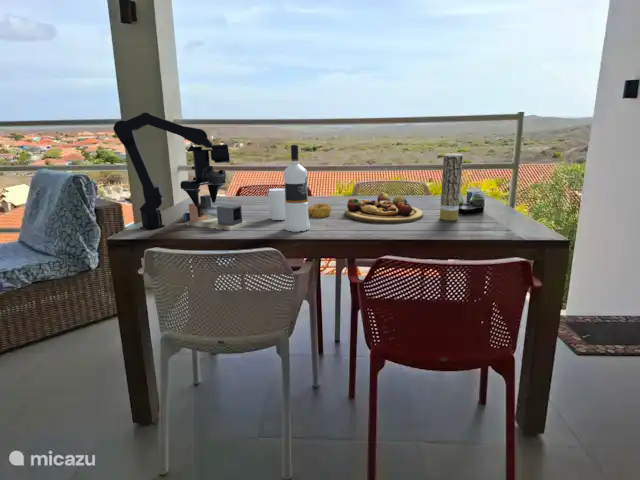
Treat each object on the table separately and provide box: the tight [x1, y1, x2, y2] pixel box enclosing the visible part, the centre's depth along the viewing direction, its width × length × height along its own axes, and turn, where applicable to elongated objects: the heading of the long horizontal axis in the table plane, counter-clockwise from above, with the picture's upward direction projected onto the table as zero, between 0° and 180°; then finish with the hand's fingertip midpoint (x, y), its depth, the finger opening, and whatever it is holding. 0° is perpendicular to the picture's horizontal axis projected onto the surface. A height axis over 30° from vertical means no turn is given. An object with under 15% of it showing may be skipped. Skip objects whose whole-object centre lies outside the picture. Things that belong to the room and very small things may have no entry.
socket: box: [188, 200, 209, 222], centre depth 159 cm, size 4×6×7 cm, turn 154°
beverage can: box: [267, 187, 285, 221], centre depth 163 cm, size 8×8×12 cm
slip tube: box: [197, 194, 218, 218], centre depth 156 cm, size 15×4×8 cm, turn 64°
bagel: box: [308, 202, 332, 219], centre depth 170 cm, size 10×11×5 cm
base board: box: [186, 216, 248, 231], centre depth 157 cm, size 21×10×1 cm, turn 64°
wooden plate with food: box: [344, 191, 424, 225], centre depth 168 cm, size 32×32×8 cm
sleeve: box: [216, 203, 243, 226], centre depth 153 cm, size 7×6×7 cm
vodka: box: [283, 144, 311, 233], centre depth 144 cm, size 9×9×30 cm
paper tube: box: [439, 153, 464, 222], centre depth 156 cm, size 7×7×25 cm
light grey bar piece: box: [182, 202, 213, 222], centre depth 175 cm, size 5×7×25 cm
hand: (205, 204), depth 157 cm, fingers open, 9 cm apart
